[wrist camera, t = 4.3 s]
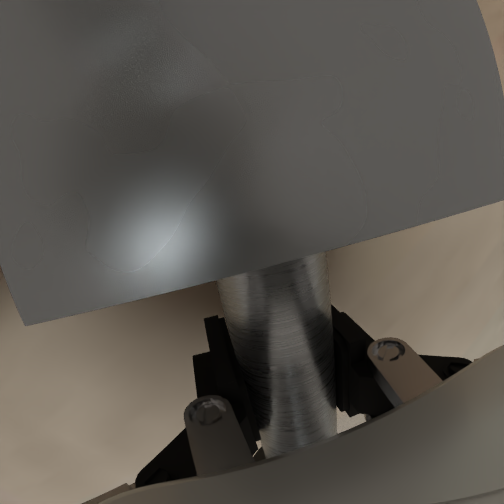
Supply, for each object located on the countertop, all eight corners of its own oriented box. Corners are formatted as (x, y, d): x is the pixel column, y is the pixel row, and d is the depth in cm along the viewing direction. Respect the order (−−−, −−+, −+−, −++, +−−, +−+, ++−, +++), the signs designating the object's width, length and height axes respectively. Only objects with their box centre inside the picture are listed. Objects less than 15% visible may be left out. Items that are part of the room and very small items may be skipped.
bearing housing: (78, 71, 11) (-61, -46, 1) (304, 32, 13) (462, -80, 2) (110, 234, 13) (-10, 395, 3) (333, 182, 15) (537, 232, 5)
